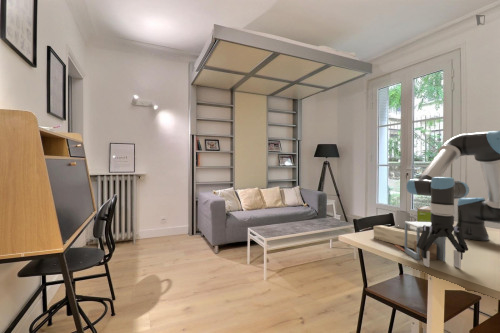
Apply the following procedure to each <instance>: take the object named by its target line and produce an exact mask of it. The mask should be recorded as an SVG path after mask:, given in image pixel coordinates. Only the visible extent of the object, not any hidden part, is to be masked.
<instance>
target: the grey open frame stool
mask: <svg viewBox="0 0 500 333" xmlns="http://www.w3.org/2000/svg"><path fill="white" fill-rule="evenodd" d="M407 224H409V225H410V226H411V227H414V228H416V232H417V243H418V241H419V238H420V233H421V230H420V228H423V226H424V225H425V226H431V222H417V221H416V222H414V221H410V222H407V221H405V229H404V230H405V246H401V245H397V244H394V246H395V247H396V248H397V249H399V250H400V251H402V252H404V253H406V254H407V255H408V256H410V257H411V258H413V259H414V260H416V261H419V262H420V261H421V260H420V259H421V258H420V249H419V248H418V247H417V253H415V252H414V249H412V248H409V247H407V231H408V229H407ZM431 232H432V230H431V231H430V232H429V235H428V237H429V236H430V233H431ZM434 235H435V234H434ZM446 238H447V237H438V238H437V239H436V240H435V241H434V242H433V243H435V244H437V257H436V259H437V260H440V261H442V262H446Z"/></svg>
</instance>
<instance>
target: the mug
mask: <svg viewBox="0 0 500 333" xmlns="http://www.w3.org/2000/svg"><path fill="white" fill-rule="evenodd" d="M394 214H395V215H394V217H395V218H394V220H395V221H394V222H395V223H394V228H397V229H403V228H404V229H403V230H405V221H407V222H411V218H413V222H417V218H416V216H415V215H412V214H411V212H410V211H408V210H407V211H406V210H395V213H394ZM398 225H399V226H398ZM408 229H411V225H409V224H407V230H408Z"/></svg>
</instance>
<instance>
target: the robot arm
mask: <svg viewBox="0 0 500 333" xmlns="http://www.w3.org/2000/svg"><path fill="white" fill-rule="evenodd" d="M463 156H474V160H475V161H476V162H478V163H479V164H480V168H481V172H482V176H483V180H484V184H485V188H486V192H487V196H488V198H487V199H485V198H484V197H467V196H468V195H469V193H470V188H469V185H468V184H467V183H466V182H464V181H461V180H455V179H454V178H453V177H450V176H444V174H445V173H446V171H447V170H448V169H449V167H450V166H451V165H452V163H454V161H456V160H458V159H459V158H460V157H463ZM406 190H407V192H408V193H409V194H411V195H416V196H424V197H427V196H428V197H430V207H431V212H432V214H431V226H425V225H424V226H423V231H421V232H420V233H421V236H420V238H419V241H418V243H417V245H416V247H418V248H419V249H421V250H422V252H421V253H422V255H421V256H422V257H423V259H422V265H423V266H425V267H427V268H430V252H429V251H428V249H429V248H430V246H431V245H432V244H433V242H434V241H435V240H436V239H437V238H438V237H446V238H447V239H448V240H449V242H450V243H451V245H452V246H453V247H454V248H455V249H454V250H453V266H454V267H455V268H457V269H461V268H462V260H463V254H464V253H465V252H468V251H469V247H468V245H467V243H466V240H465V239H467V240H474V241H489V240H488V239H489V237H490V235H489V234H488V232H487V228H486V226H485V225H486V224H485V222H487V223H494V224H500V130H489V131H479V132H469V133H468V132H467V133H461V134H458V135H455V136H453V137H451V138H449V139H448V140H447V141H445V142H444V143H443V144H441V145H440V147H439V148H438V153H437V154H436V155H435V156H434V158H433V159H432V160H431V161H430V162H429V163H428V165H427V166H426V168H425V169H424V170H423V171H422V173H421V174H420V175H419V176H418V177H417V178H410V179H408V181H407V182H406ZM455 199H456V200H457V199H458V200H457V222H456V225H454V224H455V216H454V215H455ZM431 230H432V232H431V233H430V236H429V237H428V235H429V232H430V231H431ZM434 234H435V235H434Z"/></svg>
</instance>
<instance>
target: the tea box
mask: <svg viewBox="0 0 500 333" xmlns="http://www.w3.org/2000/svg"><path fill="white" fill-rule="evenodd" d="M416 211H417V212H416V213H417V216H416V217H417V218H416V222H431V214H432V212H431V206H426V205H423V206H421V207H418V208H417V210H416ZM422 231H423V228H420V232H422Z"/></svg>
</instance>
